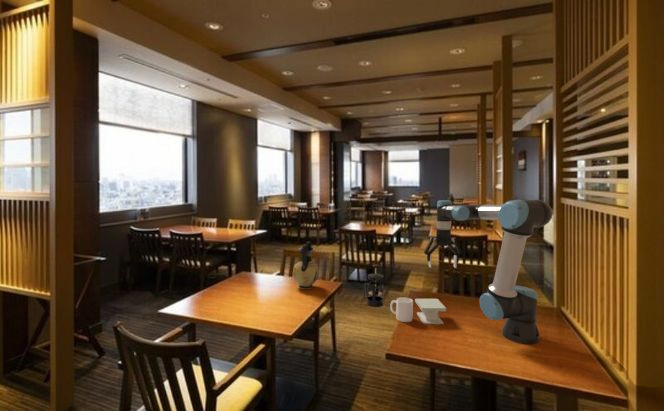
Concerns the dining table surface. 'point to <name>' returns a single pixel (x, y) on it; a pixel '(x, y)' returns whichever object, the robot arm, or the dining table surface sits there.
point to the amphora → (306, 268)
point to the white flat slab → (430, 305)
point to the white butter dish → (429, 317)
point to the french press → (374, 290)
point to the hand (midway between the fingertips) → (442, 267)
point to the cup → (403, 309)
